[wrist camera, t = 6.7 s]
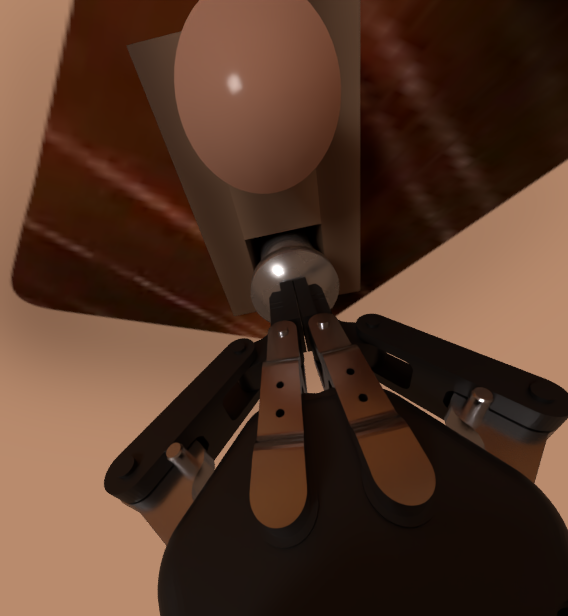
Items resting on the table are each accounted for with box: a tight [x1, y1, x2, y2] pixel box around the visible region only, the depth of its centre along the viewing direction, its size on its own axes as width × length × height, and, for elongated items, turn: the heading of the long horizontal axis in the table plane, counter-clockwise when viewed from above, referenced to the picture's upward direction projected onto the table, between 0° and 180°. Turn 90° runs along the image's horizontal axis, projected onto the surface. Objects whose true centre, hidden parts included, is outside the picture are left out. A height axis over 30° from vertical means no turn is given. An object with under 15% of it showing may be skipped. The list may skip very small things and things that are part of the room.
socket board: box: [127, 0, 360, 316], centre depth 17 cm, size 10×15×5 cm, turn 11°
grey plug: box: [251, 228, 339, 324], centre depth 17 cm, size 5×5×8 cm
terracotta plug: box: [174, 0, 341, 194], centre depth 11 cm, size 5×5×8 cm
